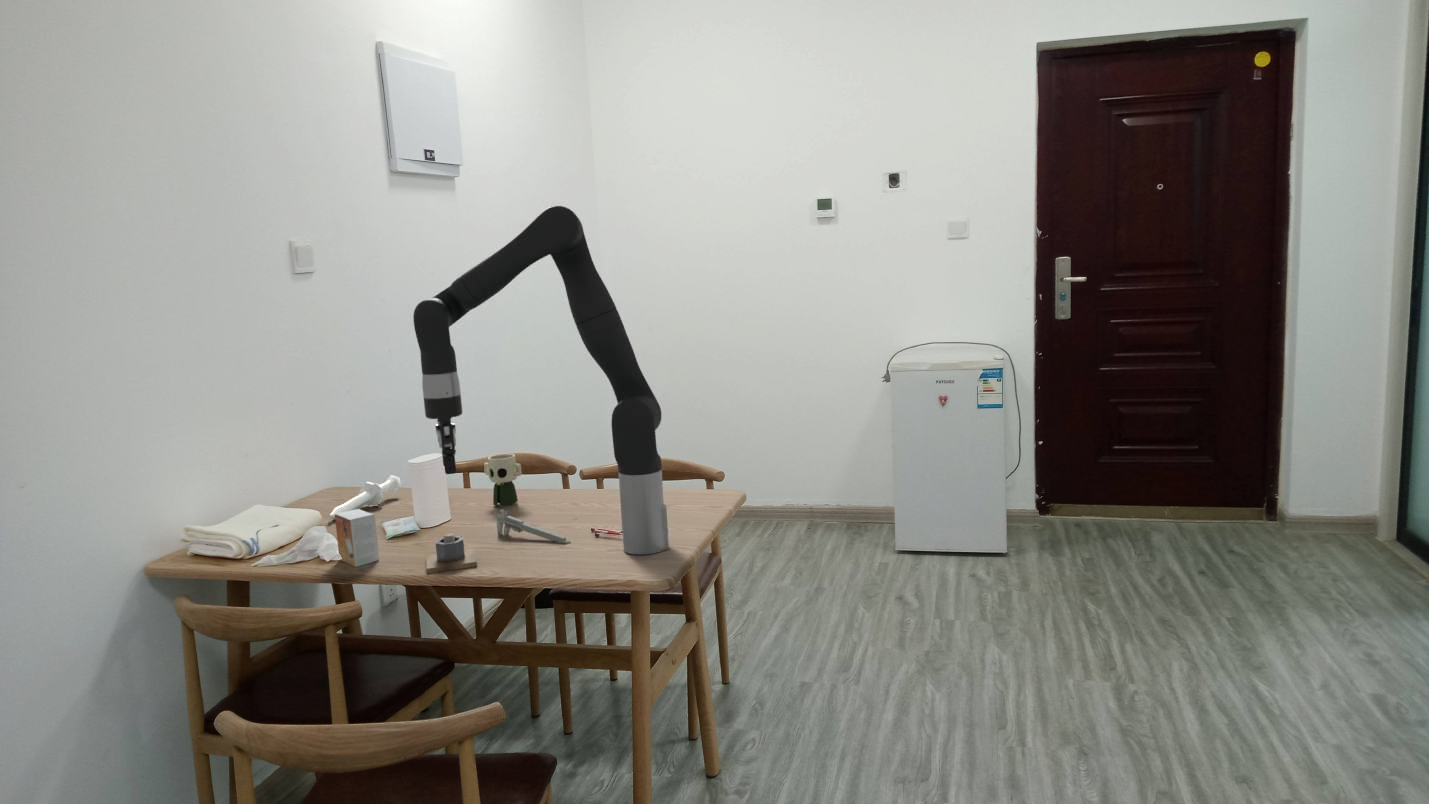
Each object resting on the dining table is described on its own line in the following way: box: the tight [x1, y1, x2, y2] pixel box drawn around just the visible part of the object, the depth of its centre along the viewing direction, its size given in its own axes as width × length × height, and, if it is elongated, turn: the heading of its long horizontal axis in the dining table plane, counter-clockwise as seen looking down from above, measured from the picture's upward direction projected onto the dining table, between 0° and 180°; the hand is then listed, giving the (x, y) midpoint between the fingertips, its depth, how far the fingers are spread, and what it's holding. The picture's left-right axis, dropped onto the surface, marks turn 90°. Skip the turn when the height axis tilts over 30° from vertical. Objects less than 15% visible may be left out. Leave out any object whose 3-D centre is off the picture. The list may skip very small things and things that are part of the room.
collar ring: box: [435, 535, 465, 563], centre depth 198 cm, size 6×6×4 cm
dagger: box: [329, 474, 402, 520], centre depth 247 cm, size 8×6×28 cm
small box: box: [334, 508, 380, 568], centre depth 203 cm, size 8×6×10 cm
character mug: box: [483, 453, 522, 507], centre depth 243 cm, size 11×7×13 cm, turn 70°
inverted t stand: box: [425, 533, 478, 574], centre depth 198 cm, size 10×10×6 cm
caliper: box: [496, 509, 571, 545], centre depth 213 cm, size 20×1×6 cm, turn 61°
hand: (449, 469), depth 199 cm, fingers open, 8 cm apart
